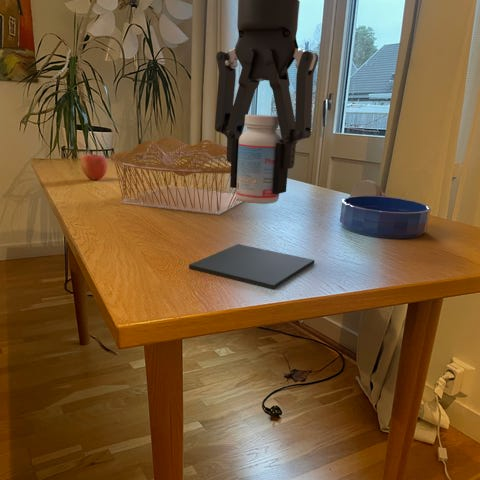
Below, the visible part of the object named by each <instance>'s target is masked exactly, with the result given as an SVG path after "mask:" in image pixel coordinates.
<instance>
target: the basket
mask: <svg viewBox="0 0 480 480" xmlns="http://www.w3.org/2000/svg"><path fill="white" fill-rule="evenodd" d="M143 156H144V157H143ZM150 156H151V157H150ZM186 157H187V158H186ZM137 158H138V159H137ZM109 159H110V161H111V162H112V163H114V167H115V171H116V176H117V179H118V184H119V188H120V193H121V199H122V201H121V204H126V205H134V206H141V207H142V206H143V207H149V208H150V207H151V208H159V209H165V210H166V209H167V210H175V211H184V212H193V213H198V214H199V213H200V214H208V215H214V216H215V215H216V216H220V215H222V214H223V213H226V212H228V211H229V210H231V209H233V208H235V207H237V206H238V205H240V204H242V203H244V202H243V201H240V200H238V199H237V197H236V188H231V189H230V192H229V193H228V192H225V191H226V188H227V186H228V183H229V182H230V178H231V162H228V161H227V145H223V144H220V143H218V142H216V141H213V140H209V139H204V140H201V141H200V142H198V143H197V144H194V145H191V144H188V143H187V144H186V143H185V142H182V141H180V140H178V139H175V138H171V137H166V138H161V139H158V140H157V141H153V140H144V141H142V142H141V143H139V144H137V146H135V147H134V148H133V149H132V150H128V151H121V152H116V153H115V152H114V153H112V154H110V155H109ZM223 160H224V161H223ZM213 163H214V164H213ZM221 163H222V164H223V165H222V164H221ZM228 163H229V164H228ZM215 164H216V165H215ZM139 170H140V172H139ZM145 172H146V173H145ZM150 172H151V174H152V176H151V175H150ZM140 174H141V175H140ZM146 174H147V175H146ZM197 174H199V175H198V179H197ZM201 174H202V175H201ZM211 174H212V180H211V178H209V179H208V177H209V176H211ZM219 174H221V177H220V181H219V183H218V175H219ZM225 174H226V175H227V174H229V176H228V179H227V181H226V184H225V179H223V178H224V176H225ZM147 176H148V177H147ZM161 176H162V177H161ZM179 176H180V177H181V178H180V179H181V180H180V181H181V187H179V186H178V181H177V180H178V177H179ZM190 176H191V179H190ZM201 176H202V180H201V179H200V178H201ZM152 177H153V179H152ZM186 177H188V178H187V179H188V180H186ZM148 178H149V179H148ZM172 178H173V180H174V185H172ZM193 178H194V184H193V187H191V184H192V180H193ZM162 179H163V181H162ZM144 180H145V181H144ZM153 180H154V182H155V185H156V186H157V187H155V185H154V182H153ZM200 180H201V181H202V182H201V183H202V184H201V189H199V187H198V186H199V182H200ZM144 182H146V184H147V186H148V188H149V191H148V189H147V187H146V185H145V183H144ZM140 183H141V184H140ZM163 183H164V187H163ZM210 184H211V185H210ZM214 184H215V191H214ZM138 186H139V187H138ZM205 186H206V190H205ZM224 186H225V187H224ZM142 187H143V188H142ZM134 188H135V189H136V193H135V190H134ZM139 188H140V189H139ZM156 188H157V190H156ZM219 188H220V189H223V191H222V190H220V191H218V190H219ZM233 189H234V191H233ZM140 190H141V192H142V194H141V192H140ZM232 192H233V193H232ZM128 193H129V194H128ZM132 195H133V197H132ZM129 196H130V197H129Z"/></svg>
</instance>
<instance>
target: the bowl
mask: <svg viewBox="0 0 480 480" xmlns="http://www.w3.org/2000/svg"><path fill="white" fill-rule="evenodd" d="M431 210H432V209H431V207H430V206H429V205H427V204H425V203H424V202H419V201H417V200H411V199H407V198H400V197H392V196H386V197H383V196H352V197H350V196H347V197H344V198H342V201H341V208H340V216H339V223H341V224H340V225H341V227H342V228H343V227H344V228H343V229H344V230H347V231H349V232H352V233H355V234H358V235H363V236H367V237H372V238H378V239H379V238H380V239H392V240H393V239H394V240H395V239H396V240H405V239H414V238H419V237H421V236H422V235H423V234H424V233H425V232H426V231H427V229H428V225H429V219H430V216H431Z"/></svg>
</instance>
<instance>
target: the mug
mask: <svg viewBox="0 0 480 480" xmlns="http://www.w3.org/2000/svg"><path fill="white" fill-rule="evenodd" d="M352 196H383V197H387V195H386V194H385V193H384V192H383V191H382V189H381V186H380V185H379V184H378V183H376V182H375V181H373V180H369V179H365V180H361V181H359V182H357V183H356V184H355V185H354V186H353V187H352V189H351V191H350V194H349V197H352Z"/></svg>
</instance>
